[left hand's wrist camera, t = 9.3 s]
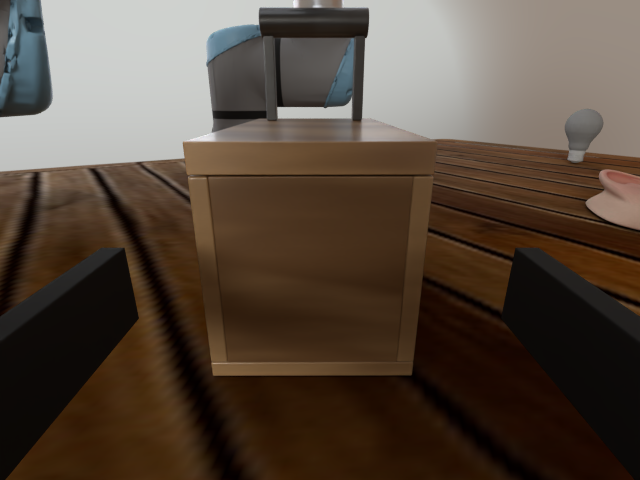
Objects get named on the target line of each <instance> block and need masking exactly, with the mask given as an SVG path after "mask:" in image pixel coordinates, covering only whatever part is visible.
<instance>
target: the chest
mask: <svg viewBox="0 0 640 480" xmlns="http://www.w3.org/2000/svg"><path fill="white" fill-rule="evenodd" d="M188 184H189V192H190V200H191V208H192V215H193V223H194V231H195V239H196V246H197V254H198V262H199V270H200V278H201V285H202V293H203V301H204V309H205V316H206V324H207V332H208V340H209V347H210V355H211V361H212V363H211V364H212V372H213V375H214V376H305V375H412V369H413V360H414V351H415V342H416V333H417V323H418V314H419V305H420V296H421V287H422V278H423V269H424V260H425V251H426V241H427V232H428V223H429V214H430V205H431V196H432V187H433V176H431V175H191V176H189V177H188Z"/></svg>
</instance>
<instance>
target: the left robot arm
mask: <svg viewBox="0 0 640 480" xmlns="http://www.w3.org/2000/svg"><path fill="white" fill-rule="evenodd" d="M52 98H53V93H52V83H51V75H50V67H49V60H48V52H47V45H46V38H45V31H44V23H43V16H42V8H41V0H0V117H9V116H24V115H35V114H39V113H41V112H43V111H45V110H46V109H47V108H48V107H49V106H50V105H51V102H52ZM138 319H139V317H138V312H137V307H136V302H135V297H134V292H133V287H132V283H131V278H130V273H129V268H128V263H127V258H126V253H125V248H101V249H99V250H98V251H96V252H95V253H93V254H92V255H90V256H89V257H87V258H86V259H84V260H83V261H82V262H80V263H79V264H77V265H76V266H74V267H73V268H71V269H70V270H68V271H67V272H65V273H64V274H62V275H61V276H59V277H58V278H56V279H55V280H54V281H52V282H51V283H49V284H48V285H46V286H45V287H43V288H42V289H40V290H39V291H37V292H36V293H34V294H33V295H31V296H30V297H28V298H27V299H26V300H24V301H23V302H21V303H20V304H18V305H17V306H15V307H14V308H12V309H11V310H9V311H8V312H6V313H5V314H3V315H2V316H0V480H5V479H6V478H7V477H8V476H9V475H10V473H11V472H12V471H13V470H14V469H15V467H16V466H17V465H18V464H19V463H20V461H21V460H22V459H23V458H24V456H25V455H26V454H27V453H28V452H29V450H30V449H31V448H32V447H33V446H34V444H35V443H36V442H37V441H38V440H39V438H40V437H41V436H42V435H43V434H44V432H45V431H46V430H47V429H48V427H49V426H50V425H51V424H52V423H53V421H54V420H55V419H56V418H57V417H58V415H59V414H60V413H61V412H62V411H63V409H64V408H65V407H66V406H67V405H68V403H69V402H70V401H71V400H72V399H73V397H74V396H75V395H76V394H77V392H78V391H79V390H80V389H81V388H82V386H83V385H84V384H85V383H86V382H87V380H88V379H89V378H90V377H91V376H92V374H93V373H94V372H95V371H96V370H97V368H98V367H99V366H100V365H101V363H102V362H103V361H104V360H105V359H106V357H107V356H108V355H109V354H110V353H111V351H112V350H113V349H114V348H115V347H116V345H117V344H118V343H119V342H120V341H121V339H122V338H123V337H124V336H125V335H126V333H127V332H128V331H129V330H130V328H131V327H132V326H133V325H134V324H135V322H136V321H137V320H138ZM501 319H502V320H503V321H504V322H505V324H506V325H507V326H508V327H509V328H510V330H511V331H512V332H513V333H514V335H515V336H516V337H517V338H518V339H519V341H520V342H521V343H522V344H523V345H524V347H525V348H526V349H527V350H528V351H529V353H530V354H531V355H532V356H533V357H534V359H535V360H536V361H537V362H538V363H539V365H540V366H541V367H542V368H543V370H544V371H545V372H546V373H547V374H548V376H549V377H550V378H551V379H552V380H553V382H554V383H555V384H556V385H557V386H558V388H559V389H560V390H561V391H562V392H563V394H564V395H565V396H566V397H567V399H568V400H569V401H570V402H571V403H572V405H573V406H574V407H575V408H576V409H577V411H578V412H579V413H580V414H581V415H582V417H583V418H584V419H585V420H586V421H587V423H588V424H589V425H590V426H591V427H592V429H593V430H594V431H595V432H596V434H597V435H598V436H599V437H600V438H601V440H602V441H603V442H604V443H605V444H606V446H607V447H608V448H609V449H610V450H611V452H612V453H613V454H614V455H615V456H616V458H617V459H618V460H619V461H620V463H621V464H622V465H623V466H624V467H625V469H626V470H627V471H628V472H629V473H630V475H631V476H632V477H633V478H634V479H635V480H640V316H638V315H637V314H635V313H634V312H632V311H631V310H629V309H628V308H626V307H625V306H623V305H622V304H620V303H619V302H617V301H616V300H614V299H613V298H612V297H610V296H609V295H607V294H606V293H604V292H603V291H601V290H600V289H598V288H597V287H595V286H594V285H592V284H591V283H589V282H588V281H586V280H585V279H584V278H582V277H581V276H579V275H578V274H576V273H575V272H573V271H572V270H570V269H569V268H567V267H566V266H564V265H563V264H561V263H560V262H558V261H557V260H556V259H554V258H553V257H551V256H550V255H548V254H547V253H545V252H544V251H542V250H541V249H539V248H515V253H514V258H513V263H512V268H511V273H510V278H509V283H508V287H507V292H506V297H505V302H504V307H503V312H502V317H501Z"/></svg>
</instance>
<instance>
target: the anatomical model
mask: <svg viewBox="0 0 640 480" xmlns="http://www.w3.org/2000/svg"><path fill="white" fill-rule="evenodd" d="M599 179H600V182H601V184H602V185H603V187H604V191H603V192H602V193H600V194H598V195H596V196H594V197H592V198H590V199H588V200H587V201H586V205H587V207H588V208H589V209H590V210H591V211H592V212H594V213H595V214H596V215H598V216H599V217H601V218H603V219H605V220H607V221H609V222H612V223H614V224H617V225H621V226H624V227H628V228H632V229H637V230H640V177H638V176H635V175H631V174H627V173H623V172H619V171H615V170H603V171H601V172H600V174H599Z"/></svg>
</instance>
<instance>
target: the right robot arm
mask: <svg viewBox="0 0 640 480" xmlns="http://www.w3.org/2000/svg"><path fill="white" fill-rule="evenodd" d="M294 8H343V0H294ZM274 39H275V65H276V90H277V107H324V108H327V107H336V106H344V105H346V104H348V103H349V101H350V100H351V97H352V91H353V56H354V38H274ZM207 67H208V74H209V84H210V94H211V104H212V112H213V129H212V133H213V132H217V131H220V130H223V129H227V128H230V127H233V126H237V125H240V124H243V123H246V122H250V121H253V120H256V119H267V105H266V84H265V64H264V43H263V38H262V37H261V34H260V27H259V25H241V26H235V27H229V28H225V29H221V30H218V31H216V32H214V33H213V34H211V35H210V36H209V38H208V40H207Z"/></svg>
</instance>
